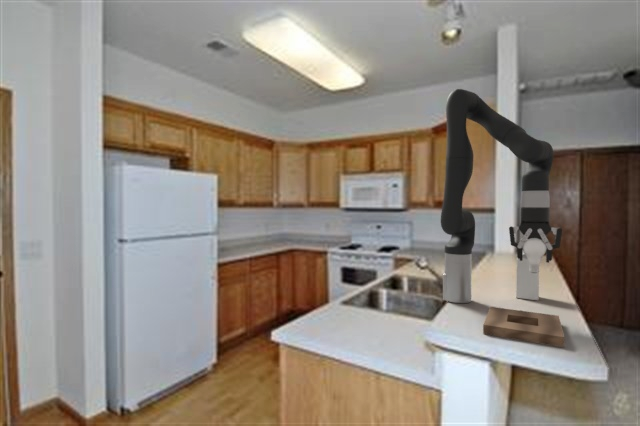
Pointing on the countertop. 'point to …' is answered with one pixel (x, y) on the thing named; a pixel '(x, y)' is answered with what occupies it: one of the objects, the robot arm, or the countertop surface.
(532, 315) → the holder block
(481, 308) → the countertop surface
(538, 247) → the lightbulb
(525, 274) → the milk carton
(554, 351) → the countertop surface
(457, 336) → the countertop surface
